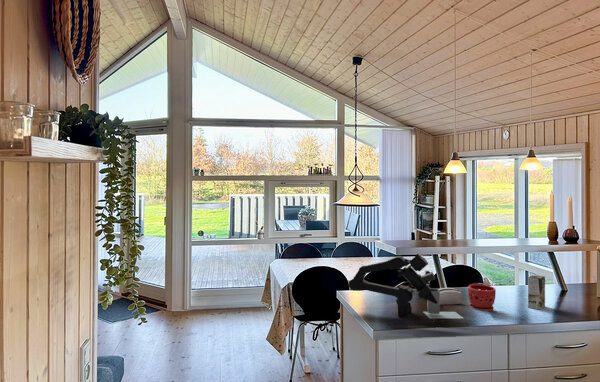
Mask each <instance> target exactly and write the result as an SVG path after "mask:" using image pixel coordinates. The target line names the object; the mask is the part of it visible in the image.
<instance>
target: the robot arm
mask: <svg viewBox="0 0 600 382" xmlns="http://www.w3.org/2000/svg"><path fill="white" fill-rule="evenodd" d="M428 265H429V262H428V260H427V259H426V258H425V257H424V256H422V255H420V254H419V253H417V254H416V255H415V256H414V257H413V258H412V259H409V258H408V259H407V258H404V256H402V255H397V256H395V257H393V258H389V259H387V260H385V261H380V262H377V263H372V264H368V265H366V264H365V265H362V266H360V267H359V268H358V271H357V272H356V274H355V275H354V276H353V278H351V279H350V280H349V281H348V287H349V289H350V291H351V290H352V291H356V292H357V291H359V292H360V291H361V292H363V291H368V292H373V293H376V294H377V293H378V294H382V295H385V296H386V295H387V296H391V297H395V298H397V299H395V302H396V305H395V307H396V312H395V315H396V316H397V318H405V317H406V315H410V314H412V312H413V311H412V310H413V308H412V305H411V301H412V300H413V299H414V296H415V291H414V289H416V292H417V296H418V297H419V298H420V299H424V300H427V301H428V300H429V301H431V302H433V303H435V304H437V303H438V302H437V301H436V299H435V298H434V296H433V295H432V293H431V289H432V288H431V284H430V282H432V281H435V280H436V276H435V275H434V272H433V271H429V270H425V272H424V274H423V275H421V274H419V273H417V272H421V271H423V269H424V268H426V267H427V266H428ZM384 270H397V273H398V275H397V277H398V278H400V277H401V276H403V277H404V278H405V279H406V280H407V281H408V283H409V284H410V285H411V286H413V288H414V289H413V288H412V287H410V286H409V285H407V286H406V285H403V284H400V285H399V286H398V287H394V286H390V285H383V284H379V283H375V282H370V281H368V280H366V279H365V277H366V275H367V274H369V273H375V272H378V271H384Z"/></svg>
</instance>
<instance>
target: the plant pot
mask: <svg viewBox="0 0 600 382" xmlns="http://www.w3.org/2000/svg"><path fill="white" fill-rule="evenodd" d="M496 290H497V289H496V288H495V287H494V286H490V285H486V284H469V285H468V287H467V294H468V295H467V296H468V300H469V307H470V308H472V309H473V310H479V311H487V312H488V313H490V312H491V313H492V311H494V304H495V300H496V295H497V293H496Z"/></svg>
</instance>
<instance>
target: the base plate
mask: <svg viewBox="0 0 600 382" xmlns="http://www.w3.org/2000/svg"><path fill="white" fill-rule="evenodd" d="M423 313H424V315H426V316H427V318H429V319H464V317H463V316H461V315H460V314H459V313H457V312H456V311H439V314H434V313H428V311H423Z"/></svg>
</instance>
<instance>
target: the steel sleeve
mask: <svg viewBox="0 0 600 382" xmlns="http://www.w3.org/2000/svg"><path fill="white" fill-rule="evenodd" d="M430 289H431V293H432V295H433V296H434V298H435V299H436V301H437V302H438V303H437V304H435V303H433V302H431V301H429V300H427V312H428V313H434V314H439V312H440V305H441V304H440V292H439V289H440V288H437V289H436V288H430Z"/></svg>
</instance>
